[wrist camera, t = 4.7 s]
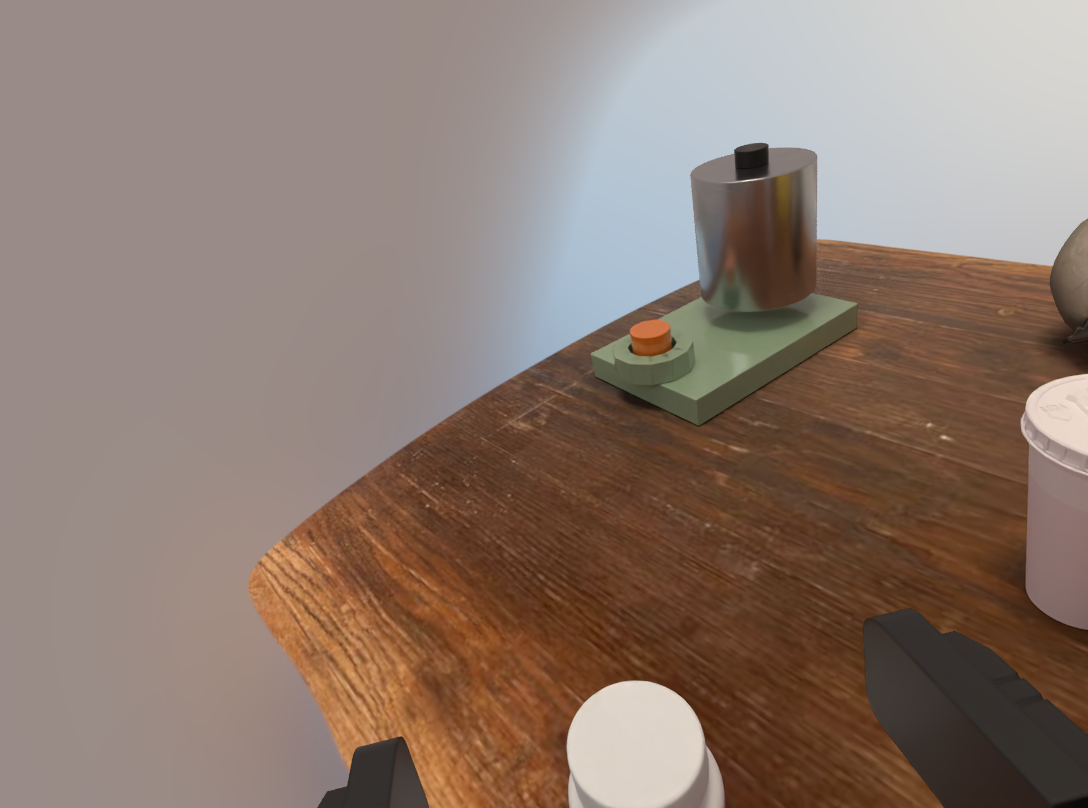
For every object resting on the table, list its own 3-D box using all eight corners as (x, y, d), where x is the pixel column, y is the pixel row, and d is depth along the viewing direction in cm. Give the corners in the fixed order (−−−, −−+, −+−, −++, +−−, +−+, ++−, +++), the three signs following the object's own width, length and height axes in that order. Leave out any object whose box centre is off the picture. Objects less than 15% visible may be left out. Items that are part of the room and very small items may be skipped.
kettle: (764, 321, 48) (758, 167, 43) (678, 297, 55) (663, 162, 50) (840, 278, 52) (844, 131, 46) (750, 261, 59) (744, 130, 53)
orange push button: (651, 362, 47) (648, 341, 47) (624, 351, 50) (621, 331, 49) (681, 346, 49) (678, 325, 48) (653, 336, 51) (651, 316, 50)
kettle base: (685, 434, 45) (680, 385, 43) (582, 382, 54) (573, 340, 52) (857, 327, 53) (859, 281, 51) (741, 298, 62) (739, 258, 60)
